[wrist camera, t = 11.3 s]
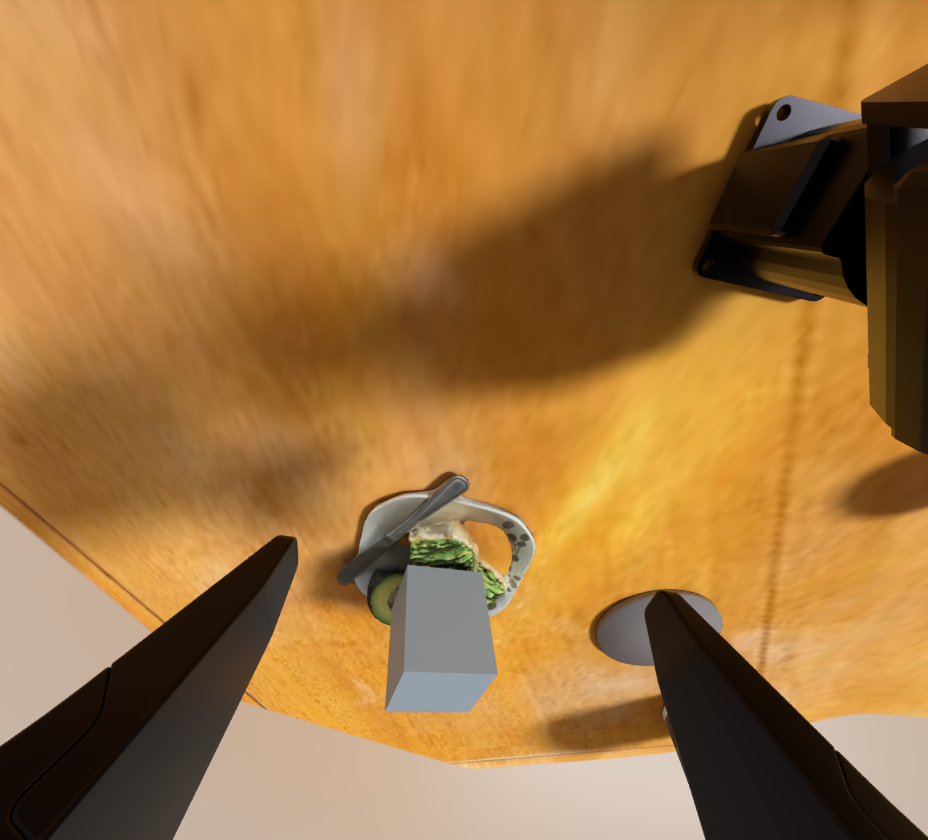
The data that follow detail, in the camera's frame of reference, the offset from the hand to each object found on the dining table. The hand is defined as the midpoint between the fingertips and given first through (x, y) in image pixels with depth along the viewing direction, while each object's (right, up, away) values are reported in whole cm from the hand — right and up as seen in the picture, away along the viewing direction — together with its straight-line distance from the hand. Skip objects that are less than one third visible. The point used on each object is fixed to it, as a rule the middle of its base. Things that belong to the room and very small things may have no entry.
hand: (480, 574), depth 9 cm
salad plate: (-2, -5, +19) cm, 20 cm away
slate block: (-2, -8, +16) cm, 18 cm away
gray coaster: (+16, -14, +23) cm, 31 cm away
